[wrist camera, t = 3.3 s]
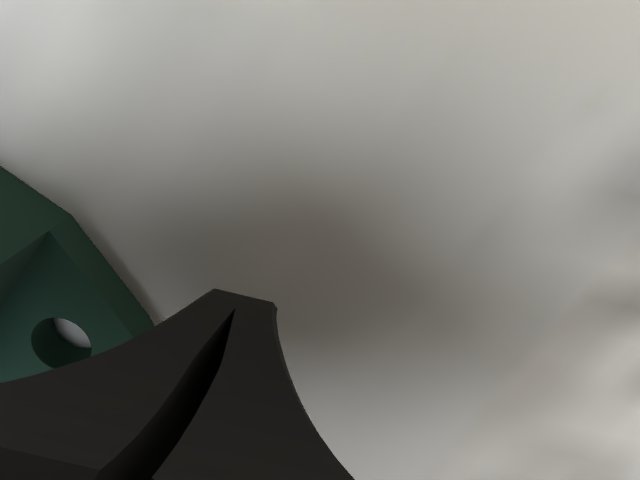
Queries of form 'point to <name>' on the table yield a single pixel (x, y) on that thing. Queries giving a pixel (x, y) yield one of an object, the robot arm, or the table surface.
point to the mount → (54, 287)
